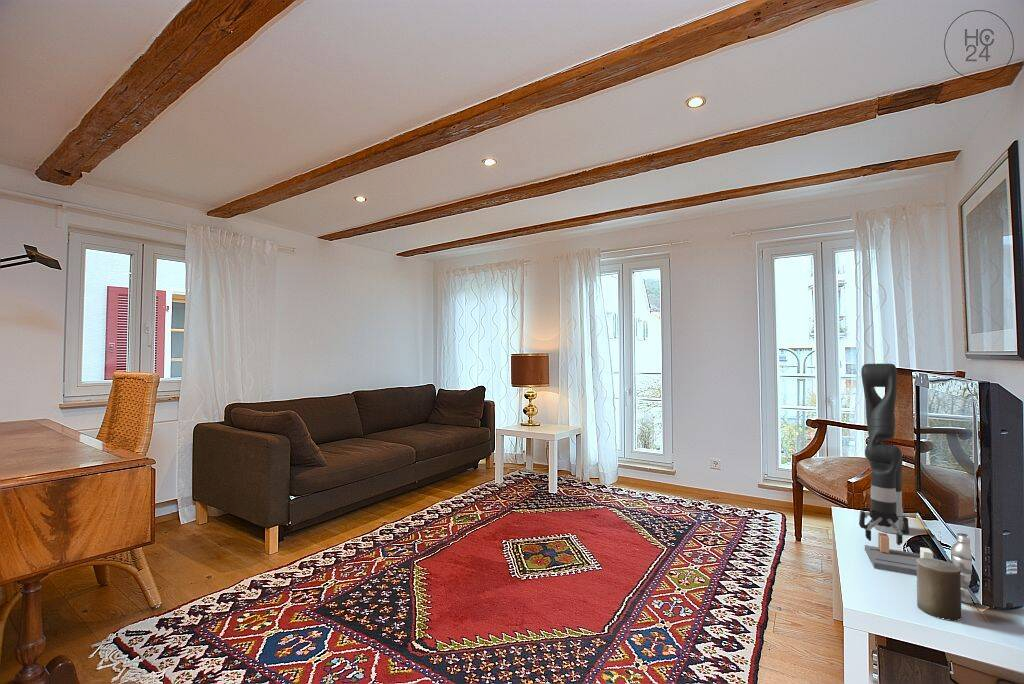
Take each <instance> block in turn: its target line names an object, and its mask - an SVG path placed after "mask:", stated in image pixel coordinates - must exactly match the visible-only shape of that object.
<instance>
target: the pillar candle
mask: <svg viewBox="0 0 1024 684" xmlns="http://www.w3.org/2000/svg"><path fill="white" fill-rule="evenodd" d="M916 561H917V576H916V605H917V608H918V609H919V610H921V611H922V612H924V613H926V614H927V615H930V616H932V617H934V618H937V617H939V618H938V619H940V618H944V619H950V620H949V621H955V620H956V621H959V620H958V619H960V618H961V619H962V601H961V570H960V568H959V567H957V566H956V565H953V563H951V562H949V561H945V560H941V559H938V558H935V559H932V558H919V559H916ZM944 619H943V620H944ZM961 619H960V620H961Z"/></svg>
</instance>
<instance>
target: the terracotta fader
mask: <svg viewBox="0 0 1024 684" xmlns="http://www.w3.org/2000/svg"><path fill="white" fill-rule="evenodd" d="M877 533H878V534H877V536H878V537H877V545H878V546H877V547H878V548H879V549H880V551H881V552H885V553H889V549H890V536H889V535H888V534H887V533H886V532H877Z"/></svg>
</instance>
